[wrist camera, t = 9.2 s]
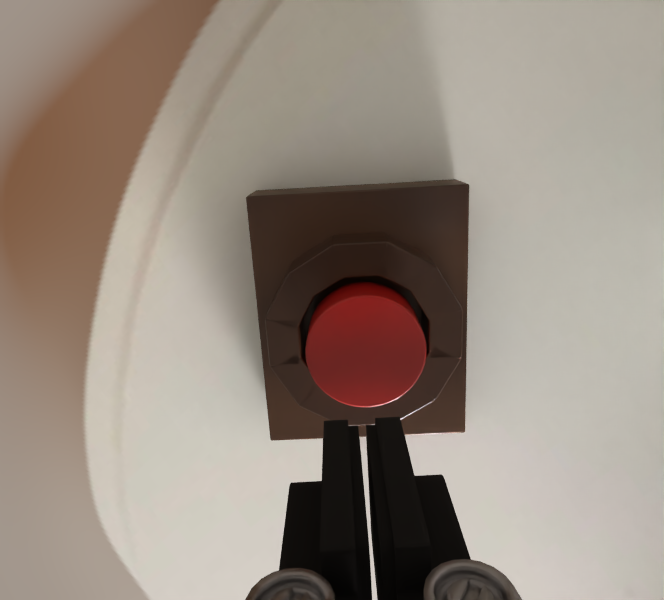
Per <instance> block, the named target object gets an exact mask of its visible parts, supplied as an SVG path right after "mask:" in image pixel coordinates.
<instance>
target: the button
mask: <svg viewBox="0 0 664 600" xmlns="http://www.w3.org/2000/svg"><path fill="white" fill-rule="evenodd" d="M426 351H427V349H426V340H425V336H424V333H423V330H422V328H421V325H420V323H419V320H418V318H417V316H416V313H415V311H414V309H413V308H412V306H411V305H410V303H409V302H408V301H407V300H406V299H405V298H404V297H403V296H402V295H401V294H400V293H398V292H397V291H395V290H393V289H392V288H390V287H387V286H385V285H382V284H378V283H373V282H357V283H351V284H347V285H344V286H342V287H339V288H338V289H336V290H334V291H332V292H331V293H330V294H328V295H327V296H326V297H325V298H324V299H323V300H322V301H321V302H320V303H319V304H318V306H317V307H316V309H315V311H314V313H313V315H312V317H311V320H310V324H309V329H308V335H307V341H306V348H305V353H306V362H307V366H308V369H309V372H310V374H311V376H312V378H313V379H314V381H315V383H316V384H317V385H318V386H319V387H320V389H322V390H323V391H324V392H325V393H326V394H327V395H329V396H330V397H332V398H333V399H335V400H337V401H339V402H341V403H344V404H347V405H351V406H356V407H376V406H380V405H384V404H387V403H390V402H392V401H394V400H396V399H398V398H399V397H401V396H402V395H404V394H405V393H406V392H407V391H409V390H410V388H411V387H412V386H413V385H414V384H415V383H416V381H417V380H418V378H419V377H420V375H421V373H422V370H423V368H424V365H425V360H426Z"/></svg>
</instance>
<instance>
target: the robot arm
mask: <svg viewBox="0 0 664 600" xmlns="http://www.w3.org/2000/svg"><path fill="white" fill-rule="evenodd" d="M366 438H367V457H368V477H369V496H370V516H371V534H372V546H373V556H374V567H375V577H376V587H377V597H378V600H522V599H521V597H520V596H519V594H518V592H517V591H516V589H515V587H514V586H513V584H512V583H511V582H510V581H509V579H508V578H507V577H506V576H505V575H504V574H503V573H501V572H500V571H498V570H497V569H496V568H494V567H492V566H490V565H487V564H485V563H483V562H480V561H474V560H471V559H470V556H469V553H468V550H467V547H466V544H465V541H464V538H463V535H462V531H461V528H460V525H459V522H458V519H457V516H456V513H455V510H454V507H453V504H452V501H451V498H450V495H449V492H448V489H447V486H446V483H445V480H444V477H443V476H442V475H426V476H414V473H413V469H412V465H411V460H410V456H409V452H408V448H407V444H406V440H405V436H404V432H403V427H402V423H401V419H400V417H382V418H375V424H374V425H366ZM246 600H372V591H371V572H370V555H369V541H368V529H367V518H366V507H365V496H364V485H363V473H362V462H361V451H360V440H359V429H358V425H357V426H349V425H348V419H346V420H328V421H324V432H323V464H322V481H316V482H297V483H291V484H290V487H289V495H288V503H287V511H286V519H285V527H284V535H283V543H282V551H281V559H280V567H279V571H276V572H273V573H271V574H269V575H267V576H266V577H264V578H262V579H261V580H260V581H259V582H258V583H257V584H256V585H255V586H254V587H253V588H252V589H251V591H250V593H249V594H248V596H247V598H246Z"/></svg>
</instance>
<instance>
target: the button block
mask: <svg viewBox="0 0 664 600" xmlns="http://www.w3.org/2000/svg"><path fill="white" fill-rule="evenodd" d="M246 201H247V211H248V221H249V231H250V241H251V250H252V260H253V270H254V280H255V290H256V300H257V310H258V320H259V330H260V339H261V349H262V359H263V369H264V379H265V389H266V399H267V409H268V419H269V428H270V438H271V440H293V439H317V438H323V432H324V421H328V420H346V419H348V425H349V426H357V425H358V429H359V437H366V425H374V424H375V418H382V417H400V419H401V423H402V427H403V432H404V435H416V434H440V433H464V432H465V401H466V340H467V279H468V218H469V184H466V183H464V182H461V181H459V180H456V179H453V180H436V181H418V182H400V183H382V184H364V185H346V186H328V187H310V188H293V189H275V190H257V191H255V192H253V193H252V194H250V195H249V196H247V197H246ZM357 282H373V283H378V284H382V285H385V286H387V287H390V288H392V289H393V290H395V291H397V292H398V293H400V294H401V295H402V296H403V297H404V298H405V299H406V300H407V301H408V302H409V303H410V305H411V306H412V308H413V309H414V311H415V313H416V316H417V318H418V320H419V323H420V325H421V328H422V330H423V333H424V336H425V340H426V349H427V351H426V360H425V365H424V368H423V370H422V373H421V375H420V377H419V378H418V380H417V381H416V383H415V384H414V385H413V386H412V387H411V388H410V390H409V391H407V392H406V393H405V394H404V395H402V396H401V397H399V398H398V399H396V400H394V401H392V402H390V403H387V404H384V405H380V406H376V407H356V406H351V405H347V404H344V403H341V402H339V401H337V400H335V399H333V398H332V397H330V396H329V395H327V394H326V393H325V392H324V391H323V390H322V389H320V387H319V386H318V385H317V384H316V383H315V381H314V379H313V378H312V376H311V374H310V372H309V369H308V366H307V362H306V353H305V348H306V341H307V335H308V329H309V324H310V320H311V317H312V315H313V313H314V311H315V309H316V307H317V306H318V304H319V303H320V302H321V301H322V300H323V299H324V298H325V297H326V296H327V295H328V294H330V293H331V292H332V291H334V290H336V289H338V288H339V287H342V286H344V285H347V284H351V283H357Z"/></svg>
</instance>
